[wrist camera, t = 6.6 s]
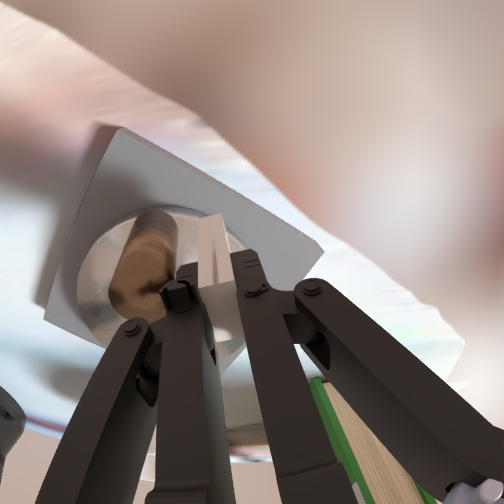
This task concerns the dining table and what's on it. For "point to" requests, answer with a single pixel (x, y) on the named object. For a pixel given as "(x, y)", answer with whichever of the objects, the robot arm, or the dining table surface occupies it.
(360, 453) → the hardback book
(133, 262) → the capstan dial
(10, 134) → the dining table surface
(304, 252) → the dial base
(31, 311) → the dining table surface
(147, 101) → the dining table surface
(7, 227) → the dining table surface
